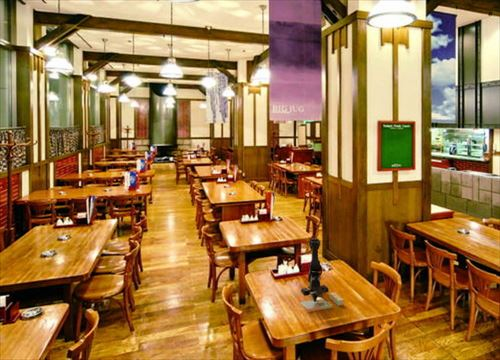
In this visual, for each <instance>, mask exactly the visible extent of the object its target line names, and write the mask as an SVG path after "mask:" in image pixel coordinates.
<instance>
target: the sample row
mask: <svg viewBox="0 0 500 360" xmlns="http://www.w3.org/2000/svg"><path fill="white" fill-rule="evenodd" d="M329 299H330V300H331V301H332V302H333V303H335V304H336V305H337V306H338V307H339V306H343V305H344V299H343V298H342V297H341V296H339V294H337V293H336V292H335V291H333V292H329Z"/></svg>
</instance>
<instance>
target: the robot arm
mask: <svg viewBox="0 0 500 360" xmlns="http://www.w3.org/2000/svg"><path fill="white" fill-rule="evenodd" d="M321 242H322V241H321V240H320V239H319V238H312V237H311V238H310V239H308V246H309V249H310V250H311V260H310V264H309V272H308V275H307V282H308V283H309V285H308V286H307V287H305V288H304V287H303V288H301V289H300V293H301V294H302V295H303V296H304V297H307V296H309V295H311V297H312V300H313V301H314V302H316V299H317V297H319V296H324V294H325V293H330V292H329V289H330V288H329V287H328V286H326V285H325V284H321V276H322V274H323V266H322V264H321V261H320V259H319V249H320V247H321V245H322V243H321Z"/></svg>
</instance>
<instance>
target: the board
mask: <svg viewBox="0 0 500 360" xmlns="http://www.w3.org/2000/svg"><path fill="white" fill-rule="evenodd" d="M299 303H300V304H301V306H302V307H303V308H304V309H305V310H306V311H307V313H310V312H314V311H321V310H327V309H332V308H333V304H332V303H331V302H329V301H326V299H324V298H323V303H322V304H317V303H316V302H314V301H313V299H312V300H305V301H302V302H301V301H300V302H299Z"/></svg>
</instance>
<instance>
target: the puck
mask: <svg viewBox="0 0 500 360" xmlns="http://www.w3.org/2000/svg"><path fill="white" fill-rule="evenodd" d="M323 299H324V298H323V297H319V296H318V297H317V299H316V303H317V304H322V303H323Z"/></svg>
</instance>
